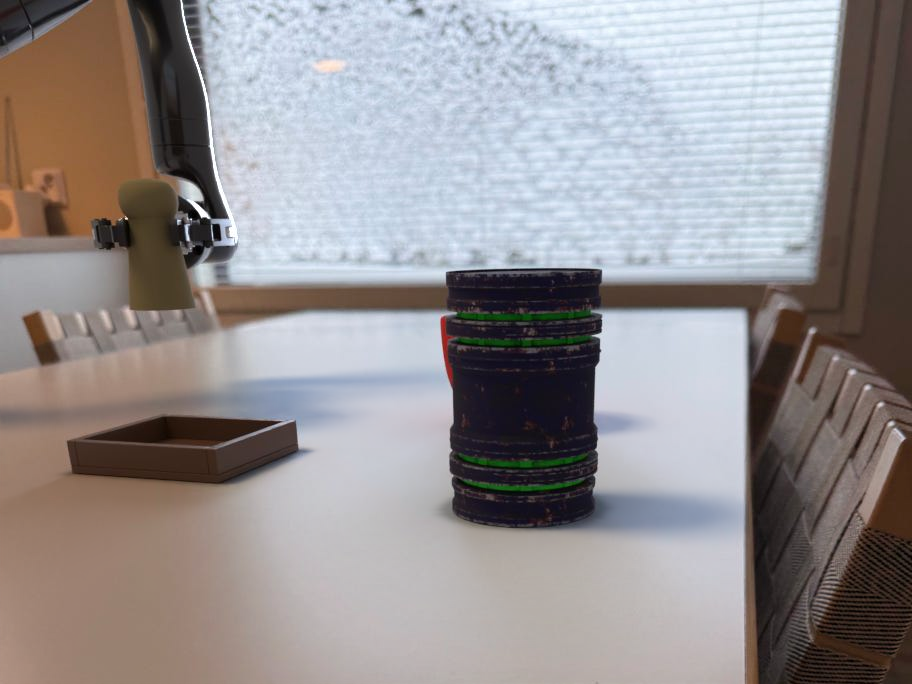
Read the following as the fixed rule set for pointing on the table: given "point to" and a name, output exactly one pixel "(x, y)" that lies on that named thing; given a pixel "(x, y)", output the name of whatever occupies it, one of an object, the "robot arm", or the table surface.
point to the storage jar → (523, 394)
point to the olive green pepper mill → (154, 247)
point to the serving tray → (184, 447)
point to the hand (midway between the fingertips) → (148, 233)
